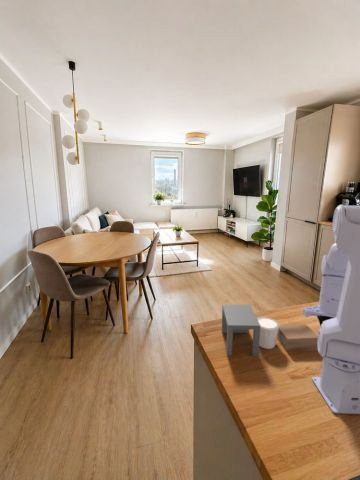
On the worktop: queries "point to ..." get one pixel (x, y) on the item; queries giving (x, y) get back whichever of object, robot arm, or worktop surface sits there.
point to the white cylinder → (268, 332)
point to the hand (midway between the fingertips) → (325, 336)
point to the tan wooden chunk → (297, 337)
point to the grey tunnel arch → (240, 324)
